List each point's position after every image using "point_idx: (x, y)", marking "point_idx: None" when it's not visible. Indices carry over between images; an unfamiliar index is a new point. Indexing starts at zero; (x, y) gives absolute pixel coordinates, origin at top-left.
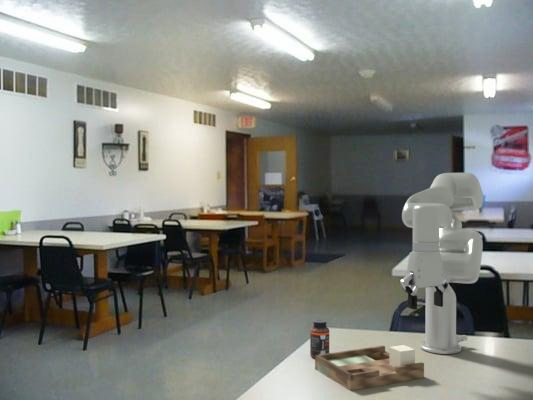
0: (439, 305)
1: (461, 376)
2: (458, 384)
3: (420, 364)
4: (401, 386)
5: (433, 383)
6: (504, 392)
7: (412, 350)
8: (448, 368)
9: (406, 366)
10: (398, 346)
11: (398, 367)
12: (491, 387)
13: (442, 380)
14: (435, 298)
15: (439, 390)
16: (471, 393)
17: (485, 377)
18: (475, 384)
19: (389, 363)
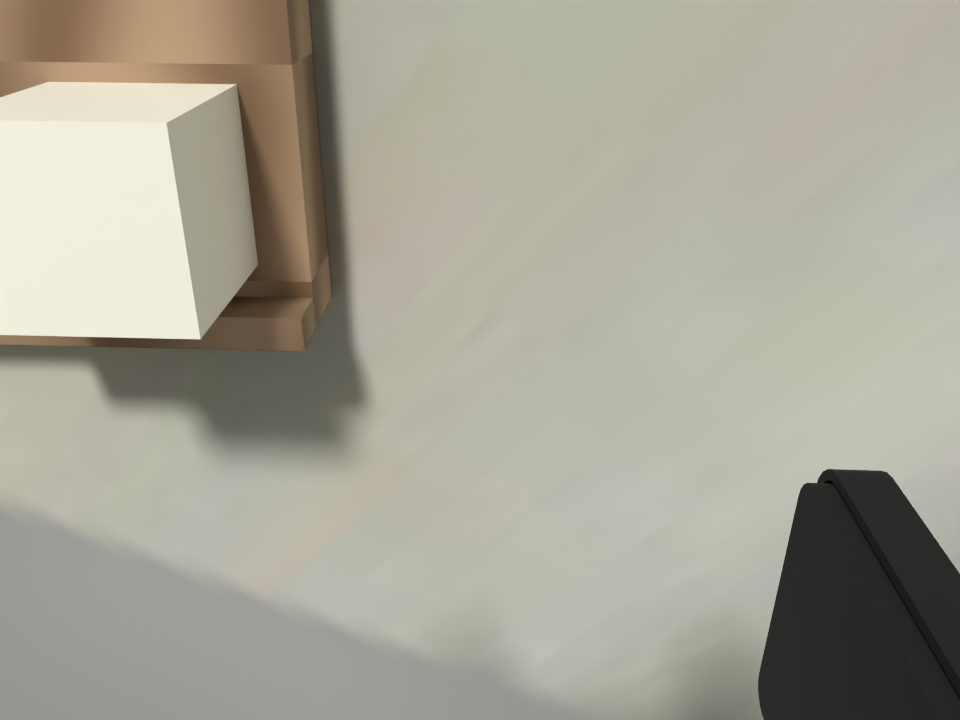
0: (771, 671)
1: (637, 399)
2: (480, 503)
3: (262, 348)
4: (50, 370)
5: (321, 420)
6: (638, 693)
7: (165, 335)
8: (708, 203)
9: (96, 344)
10: (60, 154)
11: (2, 343)
12: (640, 619)
13: (430, 402)
14: (864, 686)
15: (276, 527)
16: (438, 633)
17: (783, 486)
18: (590, 548)
19: (44, 83)
